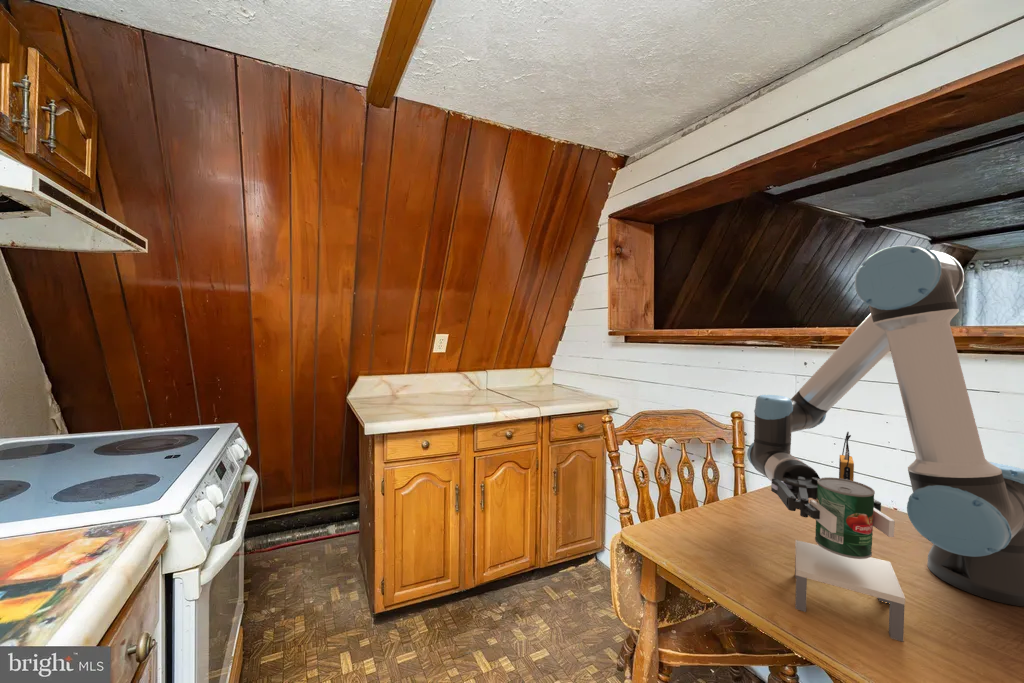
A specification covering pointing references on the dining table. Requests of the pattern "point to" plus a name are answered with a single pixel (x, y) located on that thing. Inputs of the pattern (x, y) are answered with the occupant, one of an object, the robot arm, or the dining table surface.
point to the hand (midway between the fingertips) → (862, 526)
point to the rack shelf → (850, 579)
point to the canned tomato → (846, 517)
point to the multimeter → (846, 463)
